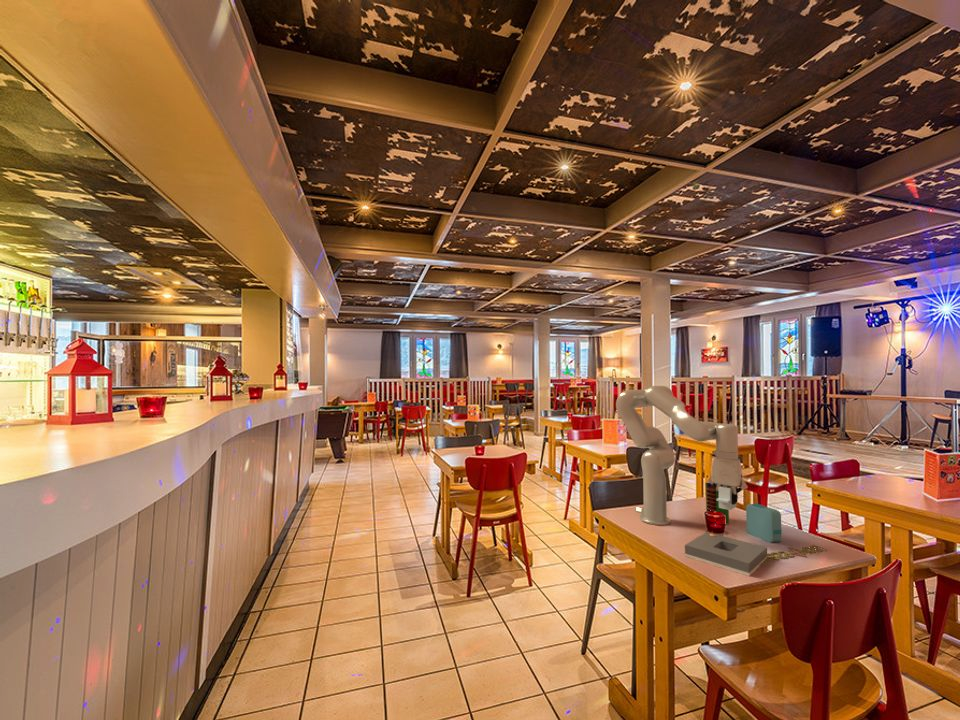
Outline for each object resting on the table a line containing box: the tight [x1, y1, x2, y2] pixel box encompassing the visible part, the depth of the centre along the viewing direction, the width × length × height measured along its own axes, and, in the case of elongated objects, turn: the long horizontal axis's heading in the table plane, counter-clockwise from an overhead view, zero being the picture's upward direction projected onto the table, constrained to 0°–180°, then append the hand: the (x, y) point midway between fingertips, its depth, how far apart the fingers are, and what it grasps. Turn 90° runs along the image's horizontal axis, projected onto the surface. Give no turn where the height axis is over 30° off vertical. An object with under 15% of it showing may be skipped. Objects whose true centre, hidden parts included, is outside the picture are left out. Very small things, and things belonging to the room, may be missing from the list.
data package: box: [745, 503, 783, 543], centre depth 170 cm, size 12×4×12 cm, turn 14°
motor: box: [705, 482, 730, 525], centre depth 191 cm, size 10×9×20 cm
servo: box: [716, 485, 737, 511], centre depth 167 cm, size 4×12×9 cm, turn 132°
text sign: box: [759, 544, 826, 567], centre depth 153 cm, size 40×1×8 cm
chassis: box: [684, 531, 768, 577], centre depth 150 cm, size 20×20×4 cm
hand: (727, 501), depth 167 cm, fingers closed on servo, 4 cm apart
